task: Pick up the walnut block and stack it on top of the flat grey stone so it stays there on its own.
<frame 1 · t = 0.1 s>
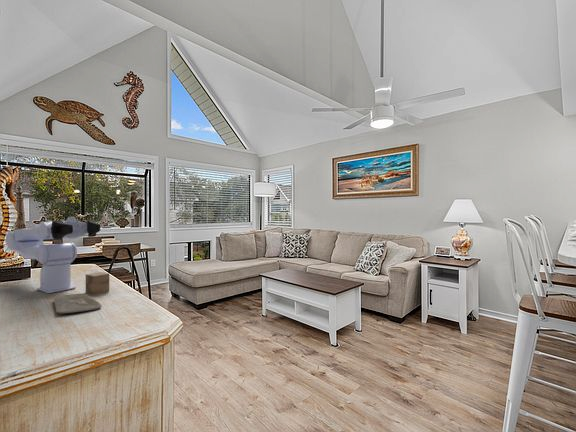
hand: (85, 228, 92), 22 cm above the table, tool horizontal, fingers open, 7 cm apart
stone: (74, 307, 86), on the table
walnut block: (97, 292, 100), on the table
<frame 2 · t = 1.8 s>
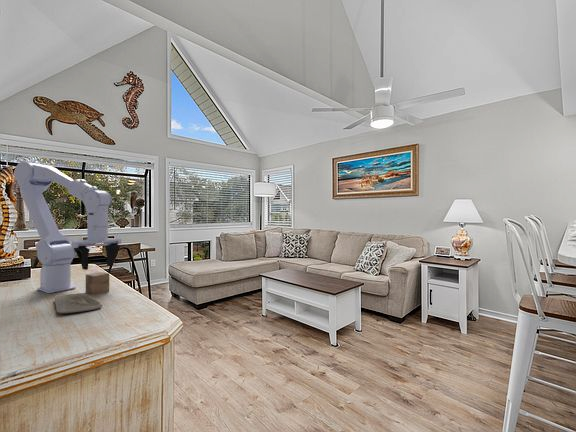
hand: (97, 267, 100), 8 cm above the table, tool pointing down, fingers open, 7 cm apart
nothing on the table moved.
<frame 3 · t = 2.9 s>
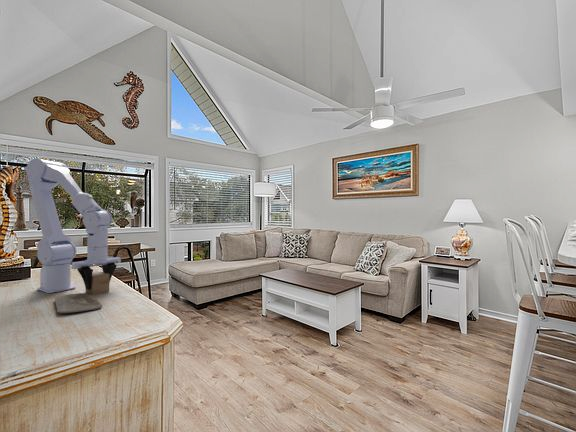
hand: (97, 287, 100), 1 cm above the table, tool pointing down, fingers closed on walnut block, 5 cm apart
walnut block: (97, 291, 100), on the table, touching gripper
everything else where it was.
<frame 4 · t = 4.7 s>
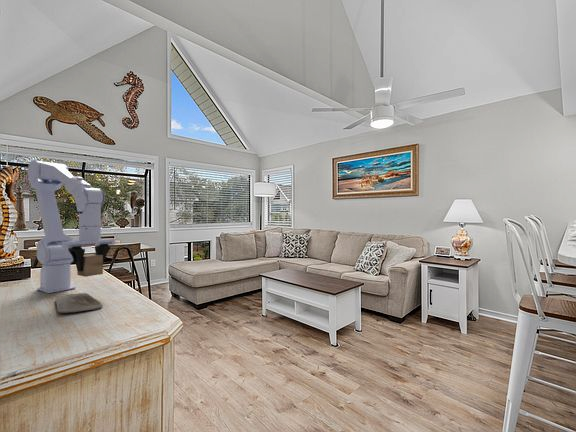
hand: (90, 269, 95), 8 cm above the table, tool pointing down, fingers closed on walnut block, 5 cm apart
walnut block: (90, 274, 95), point 7 cm above the table, touching gripper
everything else where it was.
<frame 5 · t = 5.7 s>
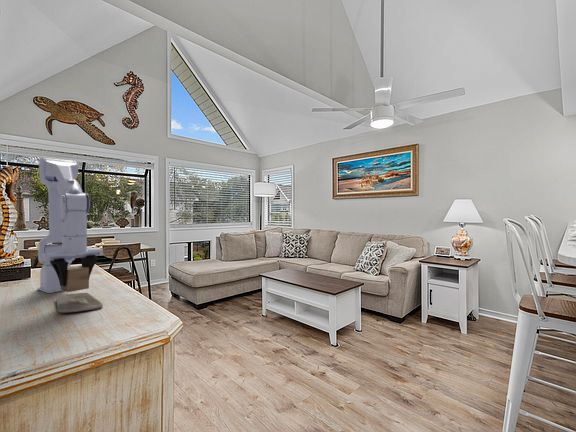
hand: (74, 283, 86), 6 cm above the table, tool pointing down, fingers closed on walnut block, 5 cm apart
walnut block: (74, 288, 86), point 5 cm above the table, touching gripper
everything else where it was.
when the fingers open (4 cm above the table, at t = 6.5 s): walnut block drops 1 cm, resting on stone.
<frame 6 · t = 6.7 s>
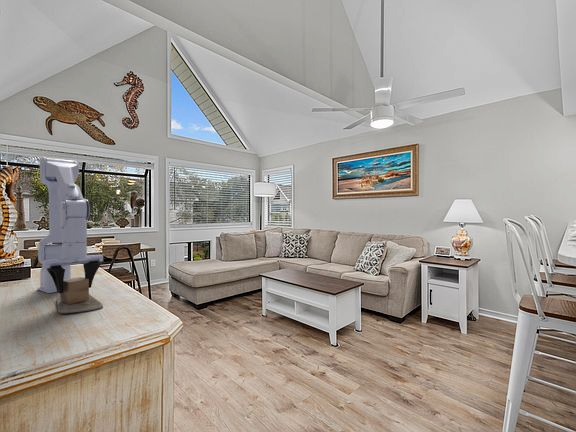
hand: (74, 289, 86), 4 cm above the table, tool pointing down, fingers open, 6 cm apart
stone: (76, 307, 86), on the table, touching walnut block
walnut block: (74, 300, 86), point 1 cm above the table, touching stone
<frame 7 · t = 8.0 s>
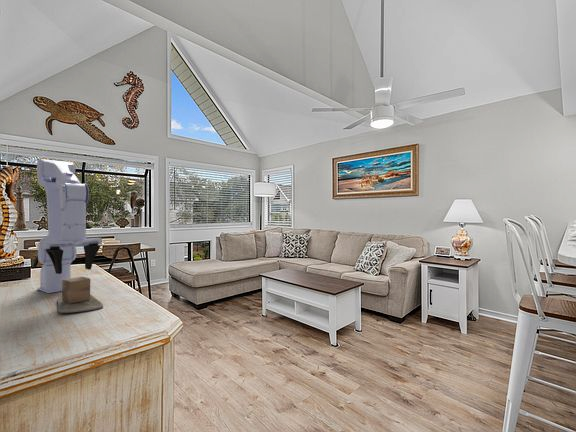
hand: (73, 271, 88), 9 cm above the table, tool pointing down, fingers open, 7 cm apart
nothing on the table moved.
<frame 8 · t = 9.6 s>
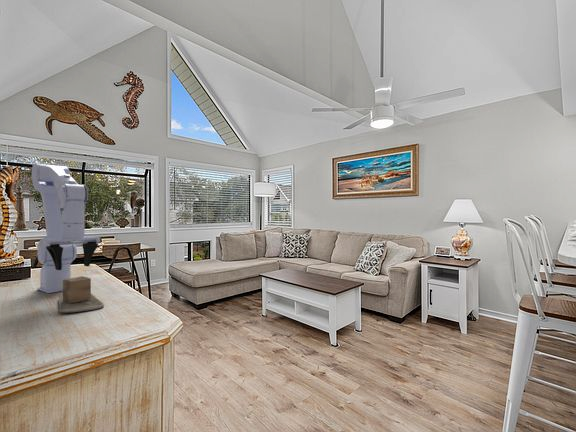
hand: (73, 267, 92), 9 cm above the table, tool pointing down, fingers open, 7 cm apart
nothing on the table moved.
at the end: walnut block 0.7 cm from the stone (horizontally); walnut block point 1.4 cm above the table; walnut block tilted 0° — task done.
